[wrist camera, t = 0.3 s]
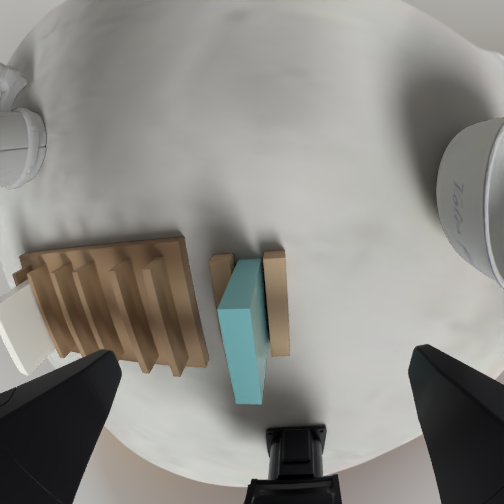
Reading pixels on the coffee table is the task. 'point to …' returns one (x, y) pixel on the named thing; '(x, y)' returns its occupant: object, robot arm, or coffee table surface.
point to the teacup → (475, 196)
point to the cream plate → (24, 328)
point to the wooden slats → (275, 294)
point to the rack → (120, 301)
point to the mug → (18, 134)
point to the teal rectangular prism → (245, 331)
